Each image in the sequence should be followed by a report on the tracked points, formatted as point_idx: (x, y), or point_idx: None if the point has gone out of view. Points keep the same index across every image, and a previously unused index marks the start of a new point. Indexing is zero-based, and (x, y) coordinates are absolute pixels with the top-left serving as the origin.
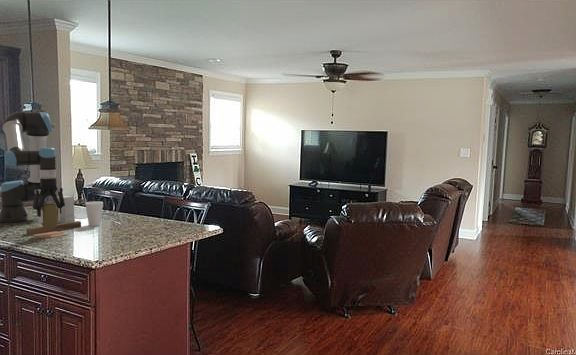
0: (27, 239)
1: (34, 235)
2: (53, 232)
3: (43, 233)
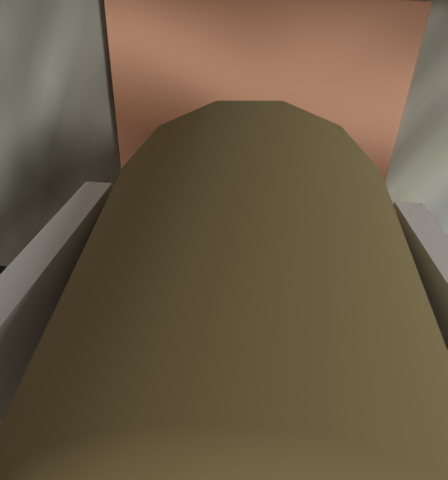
0: (4, 158)
1: (109, 43)
2: (347, 72)
3: (233, 28)
